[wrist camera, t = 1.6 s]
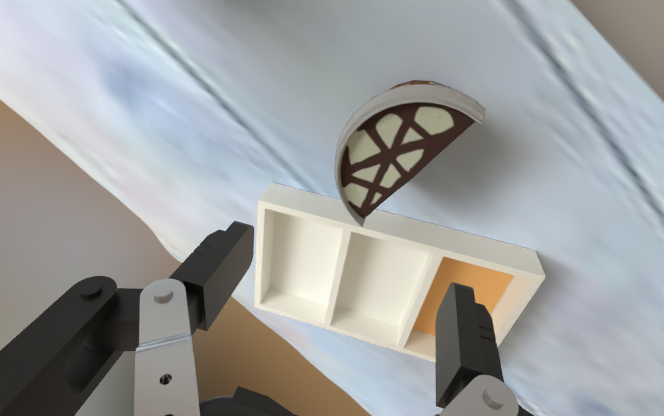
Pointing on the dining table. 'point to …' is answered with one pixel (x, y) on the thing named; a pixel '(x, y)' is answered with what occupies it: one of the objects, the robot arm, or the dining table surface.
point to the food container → (397, 140)
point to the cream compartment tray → (380, 271)
